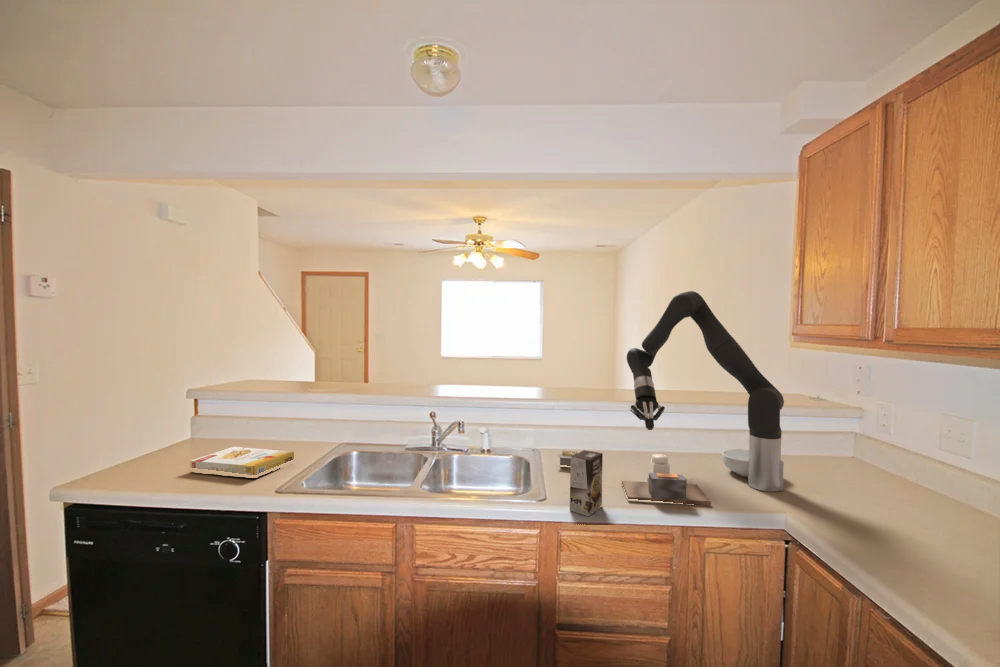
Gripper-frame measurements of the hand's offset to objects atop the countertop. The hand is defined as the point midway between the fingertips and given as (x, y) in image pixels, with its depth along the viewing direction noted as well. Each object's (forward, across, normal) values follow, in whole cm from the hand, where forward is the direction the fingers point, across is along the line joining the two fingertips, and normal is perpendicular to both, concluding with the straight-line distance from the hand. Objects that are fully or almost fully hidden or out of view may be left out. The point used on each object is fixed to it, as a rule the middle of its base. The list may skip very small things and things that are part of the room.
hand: (650, 428), depth 165 cm
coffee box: (+37, -25, -14) cm, 47 cm away
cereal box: (+24, -149, 0) cm, 151 cm away
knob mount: (+27, 0, -4) cm, 27 cm away
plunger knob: (+21, 0, -1) cm, 21 cm away
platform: (+11, -28, +12) cm, 33 cm away
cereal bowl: (+9, +35, +14) cm, 39 cm away
